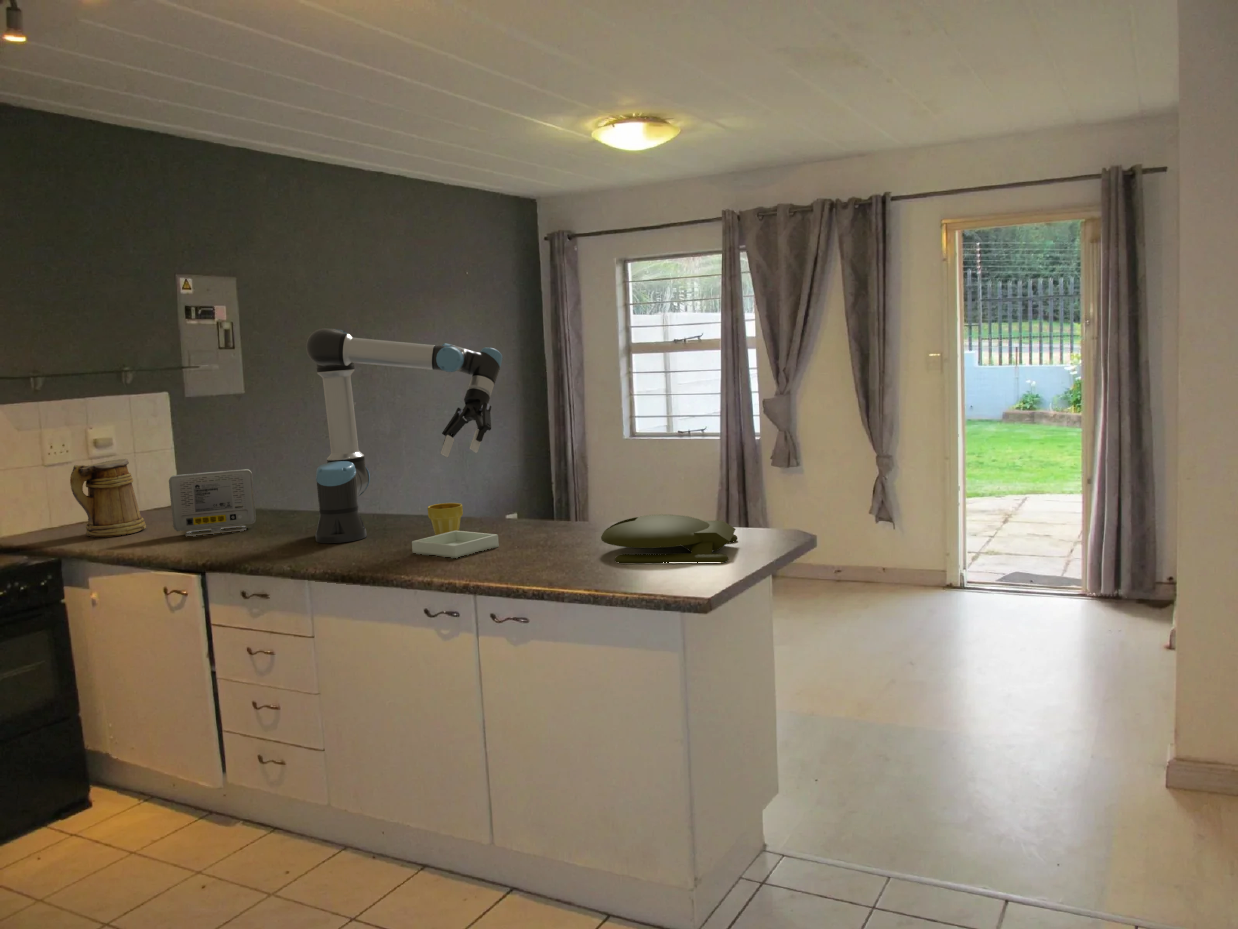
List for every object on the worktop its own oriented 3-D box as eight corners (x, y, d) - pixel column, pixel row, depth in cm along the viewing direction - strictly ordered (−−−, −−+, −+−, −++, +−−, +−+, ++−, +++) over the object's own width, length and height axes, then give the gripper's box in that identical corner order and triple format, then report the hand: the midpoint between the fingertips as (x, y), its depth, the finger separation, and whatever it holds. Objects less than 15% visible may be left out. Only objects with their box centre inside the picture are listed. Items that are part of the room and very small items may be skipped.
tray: (412, 553, 278) (411, 541, 277) (456, 542, 291) (455, 530, 291) (455, 558, 268) (454, 546, 267) (498, 546, 281) (497, 534, 281)
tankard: (157, 528, 344) (150, 457, 341) (98, 542, 323) (89, 466, 320) (121, 527, 352) (113, 457, 349) (60, 540, 331) (51, 466, 328)
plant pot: (457, 540, 294) (455, 508, 293) (424, 541, 296) (422, 508, 295) (469, 533, 304) (467, 502, 303) (437, 534, 306) (435, 503, 305)
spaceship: (738, 541, 274) (737, 506, 273) (727, 566, 245) (726, 526, 243) (615, 542, 282) (613, 508, 281) (590, 566, 252) (588, 528, 251)
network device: (256, 525, 340) (251, 468, 337) (257, 529, 331) (251, 470, 329) (175, 534, 331) (169, 474, 328) (173, 538, 323) (167, 477, 320)
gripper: (514, 393, 305) (494, 454, 296) (461, 404, 321) (441, 462, 312) (497, 381, 300) (477, 442, 291) (444, 393, 316) (423, 451, 307)
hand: (458, 453), depth 302 cm, fingers open, 13 cm apart
